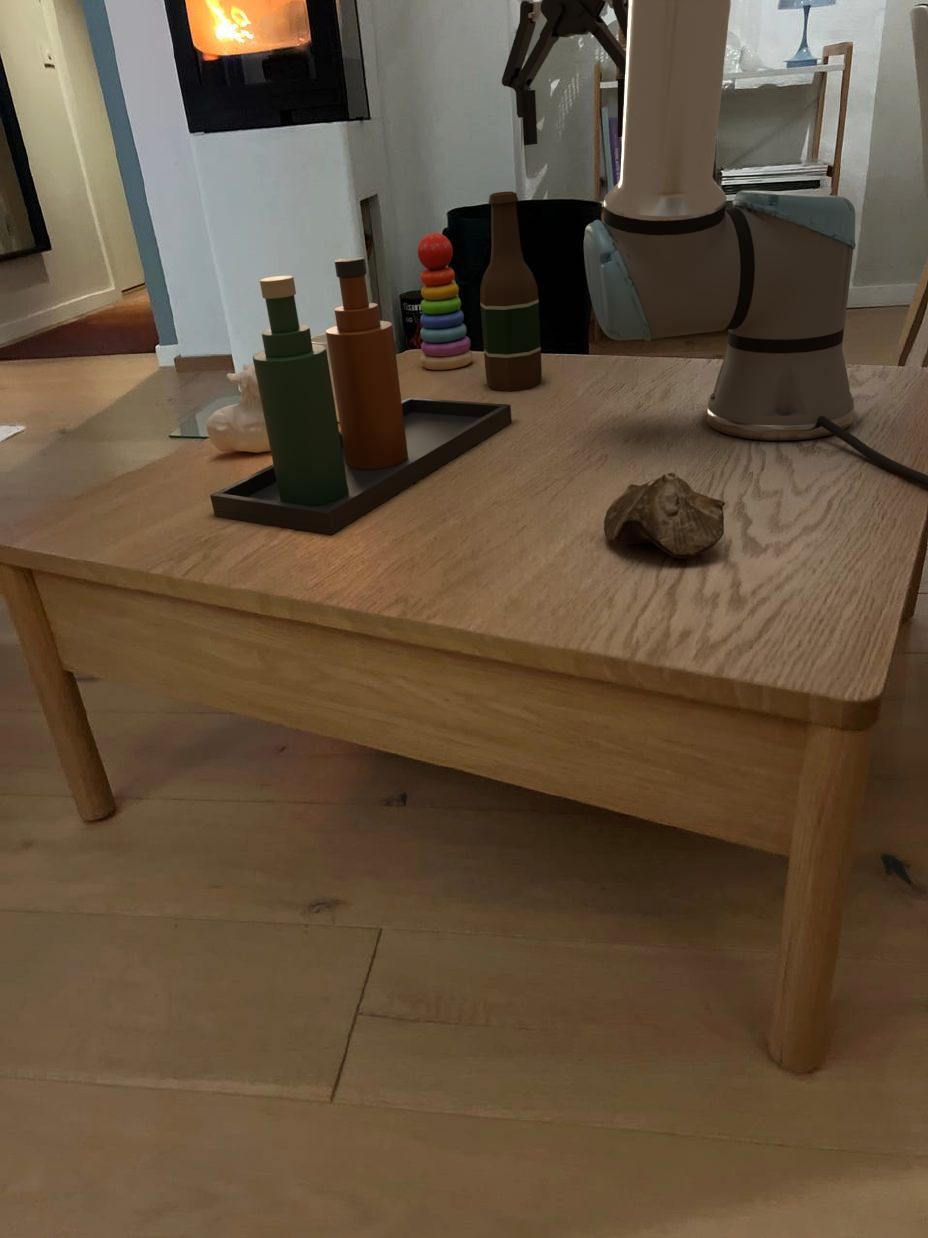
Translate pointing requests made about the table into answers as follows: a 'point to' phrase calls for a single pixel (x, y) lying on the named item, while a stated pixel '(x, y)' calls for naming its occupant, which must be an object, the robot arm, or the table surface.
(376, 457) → the bottle mid
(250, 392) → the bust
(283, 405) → the bottle far
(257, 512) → the tray
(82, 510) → the table surface
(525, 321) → the beer bottle
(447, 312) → the stacking toy
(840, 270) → the robot arm
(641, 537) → the fossilized seashell
